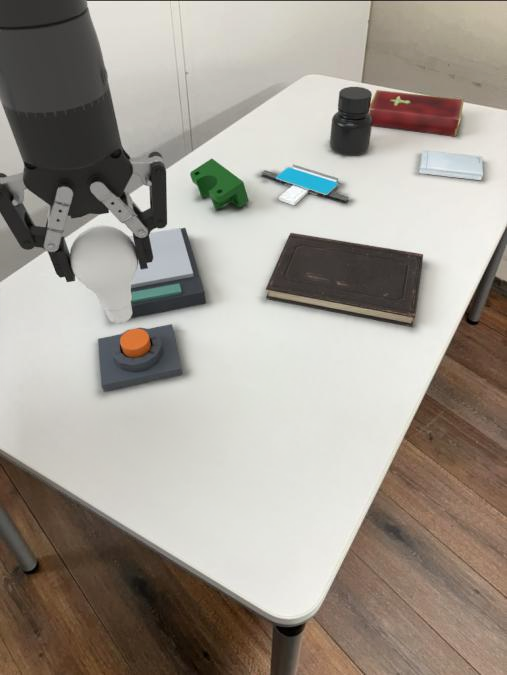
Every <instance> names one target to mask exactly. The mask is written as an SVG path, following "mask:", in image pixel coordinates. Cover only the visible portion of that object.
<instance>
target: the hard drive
mask: <svg viewBox="0 0 507 675" xmlns="http://www.w3.org/2000/svg"><path fill="white" fill-rule="evenodd" d="M419 163H420V164H419V171H418V172H419V174H422V175H433V176H440V177H448V178H449V177H450V178H458V179H466V180H475V181H482V179H483V176H484V167H483V166H484V164H483V156H482V155H475V154H466V153H465V154H464V153H458V152H457V153H455V152H446V151H439V150H438V151H437V150H426V149H423V150H422V152H421V157H420V162H419Z"/></svg>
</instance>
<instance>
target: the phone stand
mask: <svg viewBox="0 0 507 675" xmlns="http://www.w3.org/2000/svg"><path fill="white" fill-rule="evenodd" d="M260 177H263V178H265V179H268V180H270V181H274V182H276V183H280V184H283V185H285V186H288V187H289V188H287V190H285V191H284V192H283V193H282V194H281V195H280V196H278V201H280V202H283V203H286V204H289V205H292V206H295V205H297V204H298V203H299V202H300V201H301V200H302V199H303V198H304V197H305V196H307V195H308V193H310V194H312V195H315V196H319V197H322V198H325V199H329V200H331V201H334V202H336V203H337V202H339V203H342V204H347V203H348V202H349V201H350V196H347V195H345V194H341V193H338V192H335V190H336V189H338V188H339V187H340V186H341V182H339V178H338V177H335V176H332V175H329V174H325V173H322V172H319V171H316V170H314V169H310V168H306V167H303V166H300V165H297V164H292V166H291V167H290V166H289V167H286V168H285V169H284V170H282V171H281V172H279V173H276V172H272V171H270V170H267V169H265V170H263V171H262V172H261V175H260Z"/></svg>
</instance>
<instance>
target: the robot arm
mask: <svg viewBox="0 0 507 675" xmlns="http://www.w3.org/2000/svg"><path fill="white" fill-rule="evenodd" d="M88 4H89V3H88V0H0V103H1V106H2V109H3V111H4V114H5V117H6V119H7V122H8V125H9V127H10V130H11V132H12V136H13V138H14V141H15V144H16V146H17V149H18V151H19V154H20V157H21V159H22V162H23V172H19V173H16V174H13V175H7V174H5V173H3V172H0V215H1V216H2V218H3V220H4V221H5V223H6V225H7V227H8V228H9V230H10V232H11V233H12V234H13V236H14V238H15V240H16V242H17V243H18V244H19V246H20V248H22V249H23V250H26V251H29V250H32V249H34V248H41V249H43V250H45V251H46V252H47V253H48V256H49V259H50V261H51V264H52V266H53V268H54V271H55V274H56V275H57V277H59V278H60V279H62V278H64V279H65V281H66V282H67V283H72V282H76V276H75V274H74V273H73V271H72V268H71V265H70V250H69V247H68V244H67V241H66V239H65V236H62V235H63V233H64V231H65V229H66V223H67V219H68V217H70V219H71V220H72V219H78V218H82V217H84V216H87V215H90V214H91V215H104V214H110V213H111V214H112V215H113V216H114V217H115V218H116V219H117V220H118V221H119V223H121V224H124V225H125V226H126V227H127V228H128V229H129V230H130V231H131V233H132V236H133V238H134V243H135V247H136V252H137V256H138V260H139V265H140V269H141V270H142V269H148V266H147V263H150V262H152V261H153V253H152V248H151V243H150V238H149V234H150V233H152V231H153V230H155V229H159V230H160V229H161V230H162V229H164V228H165V227H167V225H168V193H167V192H168V190H167V187H168V186H167V169H166V165H165V162H164V158H163V154H162V153H160V152H158V151H152V152H149V154H148V156H147V157H131V156H130V154H128V153H127V151H126V150H125V149H124V147H123V145H122V139H121V135H120V130H119V125H118V120H117V117H116V116H117V115H116V112H115V107H114V103H113V98H112V93H111V88H110V84H109V79H108V78H109V76H108V70H107V68H106V65H105V59H104V55H103V52H102V47H101V44H100V43H101V42H100V39H99V36H98V34H97V31H96V29H95V25H94V22H93V19H92V17H91V12H90V9H89V6H88ZM133 175H136V176H138V177H139V179H140V181H141V183H142V185H144V186H146V187H149V208H147V209H145V210H141V209H140V207H139V206H138V205H137V204H136V203H135V201H134V200H133V199H132V197H131V194H130V193H129V192H128V191H127V190H126V188H127V186H128V184H129V182H130V180H131V178H132V176H133ZM25 190H28V192H31V193H32V194H34V195H35V196H36V197H38V199H40V200H42V201H43V202H45V203H46V204H47V205H48V211H47V217H46V221H45V226H39V225H35V223H34V221H33V219H32V218H31V217H32V216H31V215H30V213H29V212H28V210H27V209H26V206H25V204H24V201H25Z"/></svg>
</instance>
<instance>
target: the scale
mask: <svg viewBox="0 0 507 675" xmlns="http://www.w3.org/2000/svg"><path fill="white" fill-rule="evenodd" d="M129 238H130V239H131V240H132V242H133V243H134V238H133V235H130V236H129ZM149 238H150V243H151V248H152V253H153V261H152V262H150V263H147V266H148V269H142V270H141V269H140V265H139V260H138V267H137V270H136V273H135V276H134V278H133V280H132V283H131V295H132V299H131V306H132V316H131V318H130V319H132V318H137V317H141V316H147V315H152V314H157V313H163V312H167V311H168V312H169V311H172V310H178V309H182V308H183V309H184V308H188V307H194V306H199V305H203V304H207V300H206V292H205V289H204V285H203V282H202V278H201V275H200V272H199V268H198V265H197V262H196V259H195V255H194V251H193V249H192V244H191V241H190V239H189V235H188V232H187V229H186V227H182V228H181V227H177V228H171V229H165V230H160V231H154V232H150V234H149ZM134 245H135V243H134Z"/></svg>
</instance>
